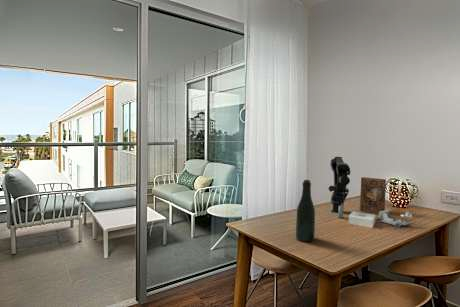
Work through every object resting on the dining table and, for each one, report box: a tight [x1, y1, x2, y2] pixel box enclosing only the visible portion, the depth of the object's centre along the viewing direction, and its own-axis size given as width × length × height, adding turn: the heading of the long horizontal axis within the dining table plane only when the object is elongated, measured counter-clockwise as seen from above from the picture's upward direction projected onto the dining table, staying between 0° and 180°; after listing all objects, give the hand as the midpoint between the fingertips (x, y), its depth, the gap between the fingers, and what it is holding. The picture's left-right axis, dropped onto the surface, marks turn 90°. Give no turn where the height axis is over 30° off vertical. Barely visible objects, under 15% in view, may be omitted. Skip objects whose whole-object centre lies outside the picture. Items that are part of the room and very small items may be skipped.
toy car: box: [375, 209, 412, 229], centre depth 184 cm, size 18×10×12 cm
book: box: [359, 177, 387, 214], centre depth 211 cm, size 16×6×25 cm, turn 58°
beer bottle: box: [294, 179, 316, 243], centre depth 155 cm, size 10×10×33 cm
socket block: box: [348, 210, 376, 229], centre depth 185 cm, size 14×14×5 cm
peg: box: [337, 203, 345, 220], centre depth 195 cm, size 3×3×10 cm
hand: (341, 204), depth 195 cm, fingers open, 9 cm apart
